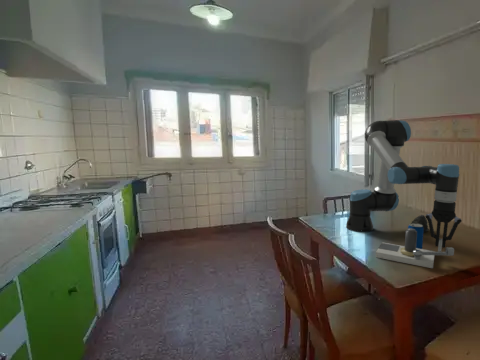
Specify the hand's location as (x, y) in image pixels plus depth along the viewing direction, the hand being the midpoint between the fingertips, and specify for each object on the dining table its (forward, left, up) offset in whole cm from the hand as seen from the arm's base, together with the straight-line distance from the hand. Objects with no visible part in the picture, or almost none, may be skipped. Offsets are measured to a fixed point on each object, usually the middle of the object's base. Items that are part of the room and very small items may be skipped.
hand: (439, 253), depth 126 cm
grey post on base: (-11, -2, -4) cm, 12 cm away
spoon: (-2, -4, 0) cm, 4 cm away
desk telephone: (-13, -1, -4) cm, 13 cm away
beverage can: (-10, +13, -4) cm, 17 cm away
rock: (-11, +47, -4) cm, 49 cm away
